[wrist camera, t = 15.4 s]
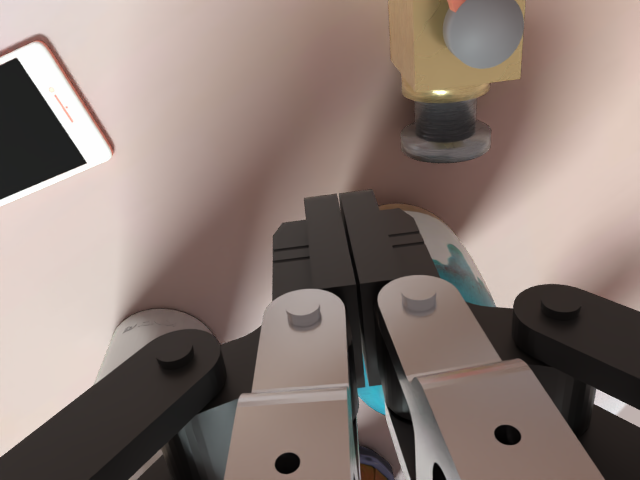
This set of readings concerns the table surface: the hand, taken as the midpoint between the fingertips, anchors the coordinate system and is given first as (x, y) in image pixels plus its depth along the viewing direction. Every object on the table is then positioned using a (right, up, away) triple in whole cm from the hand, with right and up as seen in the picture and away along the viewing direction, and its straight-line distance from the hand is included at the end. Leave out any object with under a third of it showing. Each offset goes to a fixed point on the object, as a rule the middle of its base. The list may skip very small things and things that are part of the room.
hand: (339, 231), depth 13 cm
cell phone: (-25, +7, +29) cm, 39 cm away
